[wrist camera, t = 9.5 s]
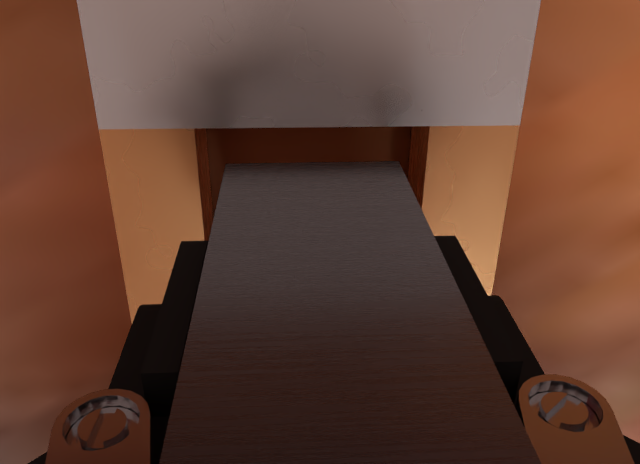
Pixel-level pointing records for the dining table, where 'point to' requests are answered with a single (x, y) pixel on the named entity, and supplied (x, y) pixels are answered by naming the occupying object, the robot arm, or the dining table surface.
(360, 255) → the steel block
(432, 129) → the grey slotted board
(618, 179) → the dining table surface
